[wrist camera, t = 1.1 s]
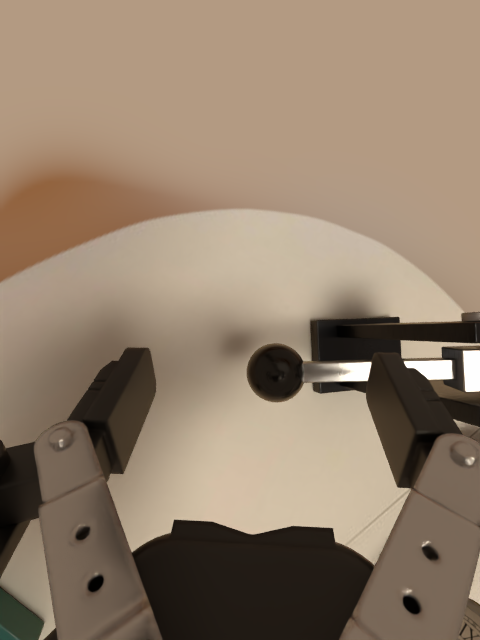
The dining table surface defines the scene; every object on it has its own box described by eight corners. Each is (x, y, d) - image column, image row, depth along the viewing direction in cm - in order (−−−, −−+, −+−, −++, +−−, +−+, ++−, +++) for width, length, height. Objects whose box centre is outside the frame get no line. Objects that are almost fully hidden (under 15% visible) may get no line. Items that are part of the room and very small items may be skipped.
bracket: (313, 391, 29) (450, 443, 16) (310, 320, 29) (443, 313, 16) (393, 383, 31) (575, 423, 18) (390, 317, 31) (569, 308, 18)
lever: (250, 395, 22) (244, 409, 19) (248, 342, 22) (242, 346, 19) (490, 392, 20) (532, 406, 17) (487, 334, 20) (528, 336, 17)
